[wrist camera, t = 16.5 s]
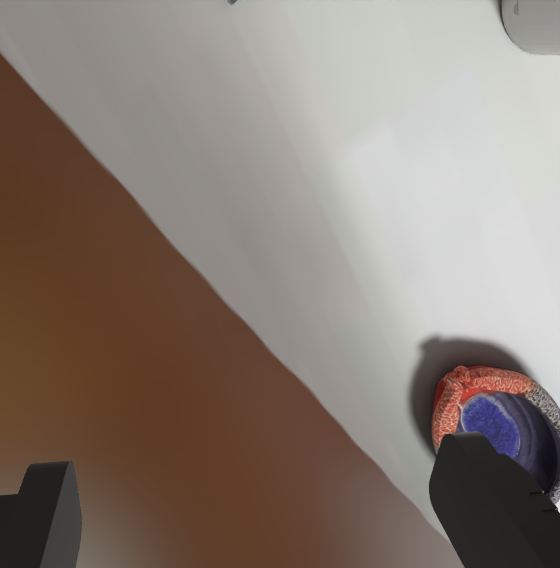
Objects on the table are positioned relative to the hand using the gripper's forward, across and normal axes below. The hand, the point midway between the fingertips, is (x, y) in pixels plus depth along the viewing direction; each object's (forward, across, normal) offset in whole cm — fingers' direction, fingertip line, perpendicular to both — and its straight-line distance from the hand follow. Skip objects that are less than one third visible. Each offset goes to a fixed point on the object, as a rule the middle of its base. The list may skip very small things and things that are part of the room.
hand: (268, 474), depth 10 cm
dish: (+35, -36, +33) cm, 60 cm away
